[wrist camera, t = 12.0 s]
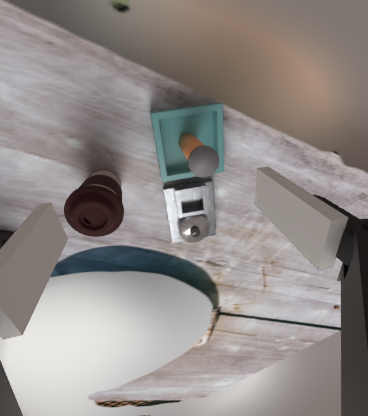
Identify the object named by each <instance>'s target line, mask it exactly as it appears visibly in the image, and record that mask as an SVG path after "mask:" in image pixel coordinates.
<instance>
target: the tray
mask: <svg viewBox="0 0 368 416" xmlns="http://www.w3.org/2000/svg"><path fill="white" fill-rule="evenodd" d="M150 114H151V120H152V126H153V132H154V137H155V143H156V149H157V155H158V161H159V167H160V173H161V178H162V182H166V181H172V180H178V179H184V178H190V177H196V175H194V174H193V173H192V172H191V170H190V168H189V166H188V160H187V158H186V156H185V155H184V153H183V152H182V150H181V149H180V147H179V144H178V141H179V138H180V136H181V135H182V134H184V133H191V134H193V135H194V136H195V137H196V138H197V139H198V140H200V141H201V142H202V143H203V144H204V145H206V146H210V147H211V148H213V149H214V150H215V151H216V152H217V153H218V156H219V166H218V168H217V170H216V171H215V172H214V173H220V172H224V144H223V104H222V103H217V102H215V103H208V104H201V105H193V106H186V107H179V108H172V109H164V110H157V111H150ZM214 173H213V174H214Z"/></svg>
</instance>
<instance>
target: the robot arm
mask: <svg viewBox="0 0 368 416" xmlns="http://www.w3.org/2000/svg"><path fill="white" fill-rule="evenodd" d="M255 205H256V206H257V207H258V208H259V209H260V210H261V212H262V213H263V214H264V215H265V216H266V217H267V218H268V219H269V220H270V221H271V222H272V223H273V224H274V225H275V226H276V227H277V228H278V229H279V230H280V231H281V232H282V233H283V234H284V235H285V236H286V238H287V239H288V240H289V241H290V242H291V243H292V244H293V245H294V246H295V247H296V248H297V249H298V250H299V251H300V252H301V253H302V254H303V255H304V256H305V257H306V258H307V259H308V260H309V261H310V262H311V263H312V265H313V266H314V267H315V268H316V269H317V270H322V269H327V268H331V267H333V266H334V263H335V260H336V257H337V258H338V259H339V260H341V261H342V262H343V264H342V267H341V270H340V273H339V276H338V279H337V281H340V280H341V414H342V415H341V416H368V219H359V218H357V217H355V216H354V215H352V214H350V213H349V212H347V211H345V210H344V209H342V208H339V206H337V205H335V204H333V203H332V202H331V201H329V200H327V199H326V198H323V197H320V196H317V195H312V194H310V193H309V192H307V191H306V190H304V189H302V188H301V187H299V186H298V185H296V184H295V183H293V182H291V181H290V180H288V179H287V178H285V177H284V176H282V175H280V174H279V173H277V172H276V171H274V170H273V169H271V168H269V167H263V168H257V178H256V195H255ZM67 240H68V238H67V235H66V233H65V231H64V229H63V227H62V225H61V222H60V220H59V218H58V216H57V214H56V211H55V209H54V207H53V205H52V203H47V204H41V205H38V206H37V207H36V208H35V209H34V211H33V212H32V213H31V214H30V215H29V216H28V218H27V219H26V220H25V221H24V222H23V223H22V225H21V226H20V227H19V228H18V229H17V230H16V232H15V233H12V232H8V231H0V337H1V338H2V339H6V338H11V337H16V336H20V335H23V333H24V331H25V329H26V326H27V324H28V322H29V320H30V318H31V316H32V314H33V312H34V309H35V307H36V305H37V303H38V301H39V299H40V297H41V294H42V293H43V291H44V288H45V286H46V284H47V282H48V280H49V278H50V276H51V274H52V272H53V270H54V267H55V265H56V263H57V261H58V259H59V257H60V255H61V253H62V251H63V248H64V246H65V244H66V242H67ZM0 416H23V415H22V412H21V410H20V408H19V405H18V403H17V400H16V398H15V395H14V393H13V390H12V388H11V386H10V383H9V381H8V378H7V376H6V373H5V371H4V368H3V366H2V363H1V361H0Z"/></svg>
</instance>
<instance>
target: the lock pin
mask: <svg viewBox="0 0 368 416" xmlns="http://www.w3.org/2000/svg"><path fill="white" fill-rule="evenodd" d="M178 144H179V147H180V149H181V150H182V152H183V153H184V155H185V156H186V158H187V160H188V166H189V168H190V170H191V172H192V173H193V174H194V175H196V176H198V177H208V176H210V175H212V174H213V173H214V172H215V171H216V170H217V168H218V166H219V156H218V153H217V152H216V151H215V150H214V149H213V148H211V147H210V146H206V145H204V144H203V143H202V142H201V141H200V140H198V139H197V138H196V137H195V136H194V135H193V134H191V133H184V134H182V135H181V136H180V138H179V141H178Z"/></svg>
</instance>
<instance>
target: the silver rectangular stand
mask: <svg viewBox="0 0 368 416" xmlns="http://www.w3.org/2000/svg"><path fill="white" fill-rule="evenodd" d="M163 190H164V196H165V202H166V208H167V214H168V219H169V225H170V231H171V237H172V242H173V243H177V242H182V241H187V242H198V241H200V240H202V239H204V238H205V237H207V236H213V235H216V234H215V213H214V193H213V181H212V180H211V179H209V180H203V181H198V182H192V183H186V184H180V185H174V186H168V187H163Z"/></svg>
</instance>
